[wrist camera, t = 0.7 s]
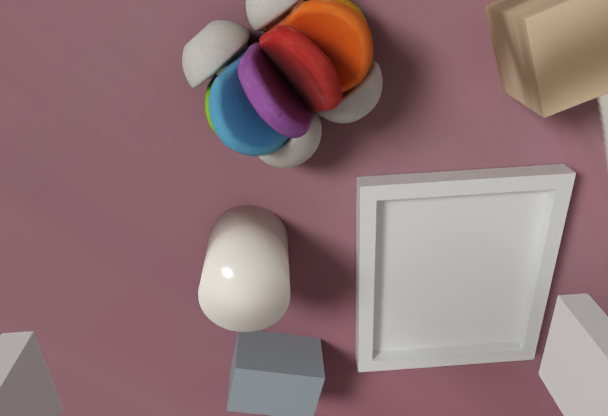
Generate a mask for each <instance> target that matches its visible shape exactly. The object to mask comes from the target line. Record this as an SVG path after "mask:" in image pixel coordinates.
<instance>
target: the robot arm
mask: <svg viewBox="0 0 608 416" xmlns="http://www.w3.org/2000/svg"><path fill="white" fill-rule="evenodd" d="M539 376H540V377H541V379H542V381H543V382H544V384H545V386H546V387H547V389H548V391H549V392H550V394H551V395H552V397H553V399H554V400H555V402H556V404H557V405H558V407H559V409H560V410H561V412H562V414H563V415H564V416H608V316H607V315H606V314H605V313H604V312H603V310H602V309H601V308H600V307H599V306H598V305H597V304H596V302H595V301H594V300H593V299H592V298H591V297H590V296H589V294H588V293H586V294H571V295H558V297H557V301H556V305H555V309H554V313H553V317H552V321H551V325H550V329H549V333H548V338H547V342H546V346H545V350H544V354H543V358H542V362H541V366H540V370H539ZM62 411H63V407H62V404H61V401H60V399H59V396H58V394H57V391H56V388H55V386H54V383H53V381H52V378H51V375H50V373H49V370H48V368H47V365H46V362H45V360H44V357H43V355H42V352H41V349H40V347H39V344H38V342H37V339H36V336H35V334H34V331H31V332H17V333H2V334H1V336H0V416H60V415H61V413H62Z"/></svg>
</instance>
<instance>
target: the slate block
mask: <svg viewBox="0 0 608 416" xmlns="http://www.w3.org/2000/svg"><path fill="white" fill-rule="evenodd" d="M324 381H325V372H324V364H323V356H322V347H321V339H320V338H315V337H307V336H299V335H290V334H282V333H274V332H266V331H252V332H238V335H237V340H236V345H235V350H234V356H233V361H232V366H231V373H230V383H229V394H228V404H227V411H233V412H242V413H252V414H262V415H272V416H314V413H315V410H316V406H317V403H318V400H319V397H320V393H321V390H322V387H323V384H324Z"/></svg>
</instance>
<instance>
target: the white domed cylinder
mask: <svg viewBox="0 0 608 416" xmlns="http://www.w3.org/2000/svg"><path fill="white" fill-rule="evenodd" d="M198 298H199V303H200V306H201V308H202V310H203V312H204V313H205V315H206V316H207V317H208V318H209V319H210V320H211V321H212V322H214V323H215V324H217V325H219V326H220V327H223V328H225V329H228V330H232V331H237V332H252V331H258V330H262V329H265V328H267V327H269V326H271V325H273V324H274V323H276V322H277V321H278V320H279V319H280V318H281V317H282V316H283V315H284V314H285V312H286V310H287V309H288V306H289V303H290V276H289V257H288V238H287V232H286V228H285V226H284V224H283V223H282V221H281V220H280V219H279V218H278V217H277V216H276V215H275V214H274V213H272V212H271V211H269V210H267V209H265V208H262V207H258V206H252V205H244V206H238V207H234V208H232V209H229V210H227V211H226V212H224V213H223V214H222V215H220V216H219V217H218V218H217V220H216V221H215V223H214V224H213V226H212V229H211V233H210V238H209V242H208V247H207V252H206V257H205V262H204V266H203V271H202V276H201V281H200V286H199V291H198Z"/></svg>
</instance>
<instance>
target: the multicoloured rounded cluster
mask: <svg viewBox="0 0 608 416" xmlns="http://www.w3.org/2000/svg"><path fill="white" fill-rule="evenodd" d="M246 13H247V17H248V20H249V22H250V25H251V27H252V28H253V30H254V31H264V32H266V33H264V34H263V35H262V36H261V37H260V39H259V41H260V42H258V43H254V44H252V45H251V46H250V47H247V44H248V41H249V39H250V37H251V33H250V32H249V30H248V29H247V28H245V27H243V26H241V25H239V24H237V23H235V22H231V21H226V20H217V21H212V22H211V23H209V24H208V25H207V26H206V27H205V28H204V29H203V30H202V31H200V32H199V33H198V34H197V35H196V36H195V37H194V38H193V39H192V40H190V41H189V42H188V43H187V44H186V45H185V47H184V50H183V56H182V64H183V70H184V73H185V76H186V79H187V80H188V82H189V84H190V85H191V86H192V87H193V88H196V87H198V86H199V85H201V84H202V83H204V82H205V81H206V80H207V79H208V78H210V77H211V76H213V75H215V74H216V76H215V77H214V78H213V79H212V80H211V81H210V82H209V84H208V87H207V93H206V99H205V110H206V116H207V120H208V123H209V125H210V127H211V128H212V130H213V131H214V132H215V133H216V134H217V135H218V136H219V138H220V139H221V141H222V142H223V143H224V144H225V145H226V146H227V147H229V148H230V149H232V150H234V151H236V152H238V153H241V154H244V155H249V156H259V158H260V159H261V160H262V161H264V162H265V163H267V164H269V165H271V166H274V167H278V168H291V167H295V166H298V165H300V164H302V163H303V162H305V161H306V160H307V159H308V158H310V157H311V156H312V155H313V154H314V152H315V151H316V150H317V148H318V146H319V143H320V140H321V133H322V126H321V121H320V118H319V117H320V116H321V117H323V118H325V119H327V120H329V121H332V122H336V123H351V122H354V121H357V120H359V119H361V118H362V117H364V116H365V115H367V114H368V113H369V112H370V111H371V110H372V109H373V108H374V107H375V106H376V104H377V103H378V101H379V99H380V96H381V93H382V87H383V78H382V73H381V69H380V67H379V65H378V63H377V62H375V61H372V58H373V40H372V36H371V32H370V29H369V26H368V24H367V21H366V18H365V16H364V14H363V13H362V11H361V10H360V9H359V7H357V6H356V5H355V4H354V3H353V2H352V1H350V0H305V1H304V0H246Z"/></svg>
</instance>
